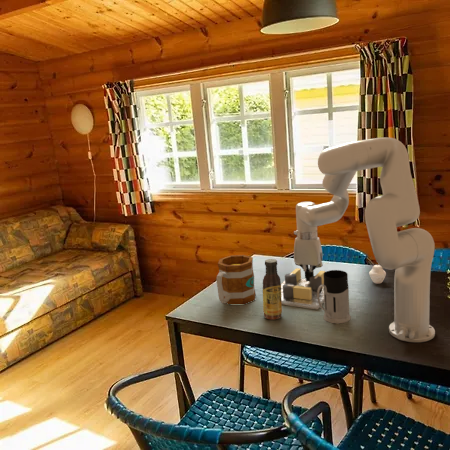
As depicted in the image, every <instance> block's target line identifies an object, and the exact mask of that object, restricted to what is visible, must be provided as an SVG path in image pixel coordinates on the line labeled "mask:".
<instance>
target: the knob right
mask: <svg viewBox="0 0 450 450" xmlns="http://www.w3.org/2000/svg"><path fill="white" fill-rule="evenodd" d="M325 272H326V271H325V270H320V271H319V272H318V273H316V275H314V276H312V277H310V288H311V290H315V291H317V290H318V288H319V286H320V285H322V284H323V283H324V273H325ZM321 289H322V287H321ZM321 289H320V290H321Z"/></svg>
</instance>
